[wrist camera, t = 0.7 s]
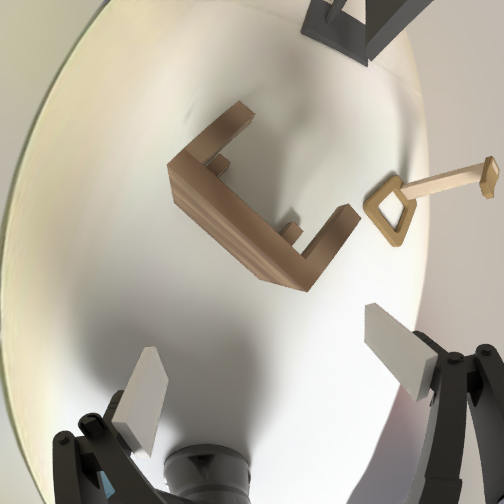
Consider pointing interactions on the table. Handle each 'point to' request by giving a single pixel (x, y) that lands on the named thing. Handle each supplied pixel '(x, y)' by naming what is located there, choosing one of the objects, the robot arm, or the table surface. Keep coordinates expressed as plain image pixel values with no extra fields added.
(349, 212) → the stool
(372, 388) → the table surface
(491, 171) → the headphone stand
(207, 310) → the table surface
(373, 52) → the computer monitor
